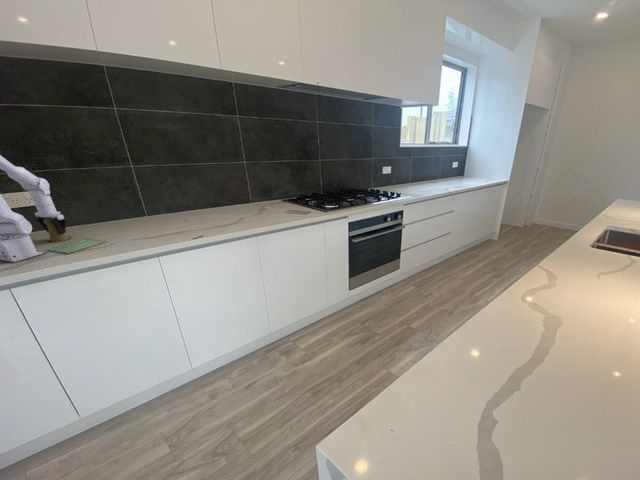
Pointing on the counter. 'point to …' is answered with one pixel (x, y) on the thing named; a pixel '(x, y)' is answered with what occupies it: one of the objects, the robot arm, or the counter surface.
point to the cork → (54, 231)
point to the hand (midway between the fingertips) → (56, 232)
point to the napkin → (75, 246)
